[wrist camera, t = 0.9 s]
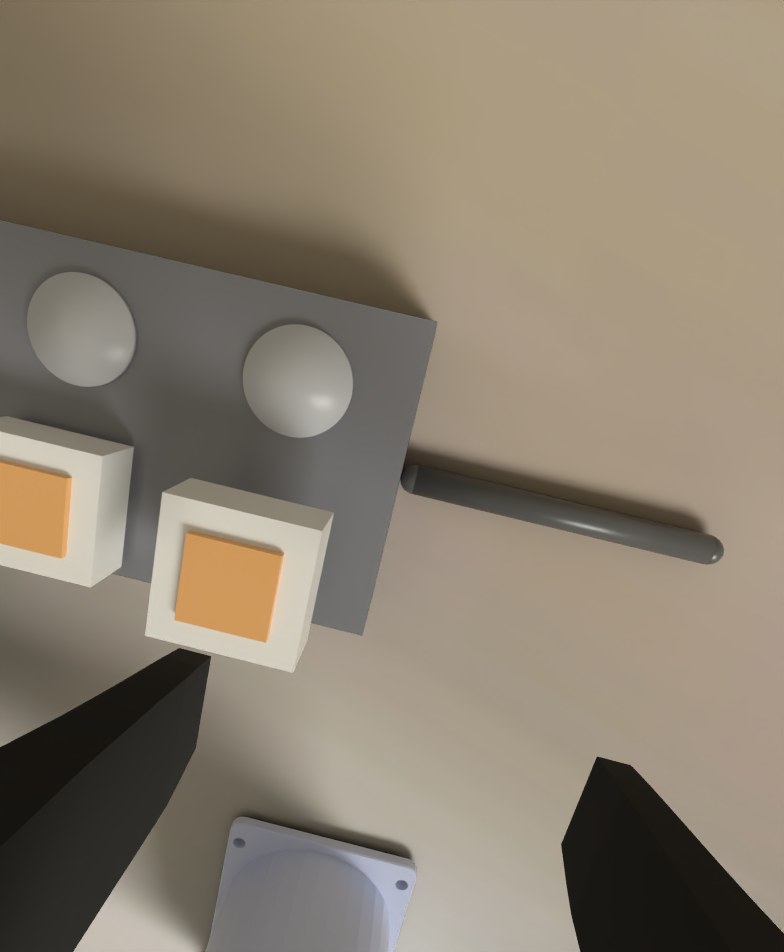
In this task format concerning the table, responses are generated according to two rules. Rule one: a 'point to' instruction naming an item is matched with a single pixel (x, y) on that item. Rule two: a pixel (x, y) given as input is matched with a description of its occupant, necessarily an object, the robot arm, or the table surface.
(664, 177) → the table surface
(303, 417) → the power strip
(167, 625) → the button
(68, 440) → the button
